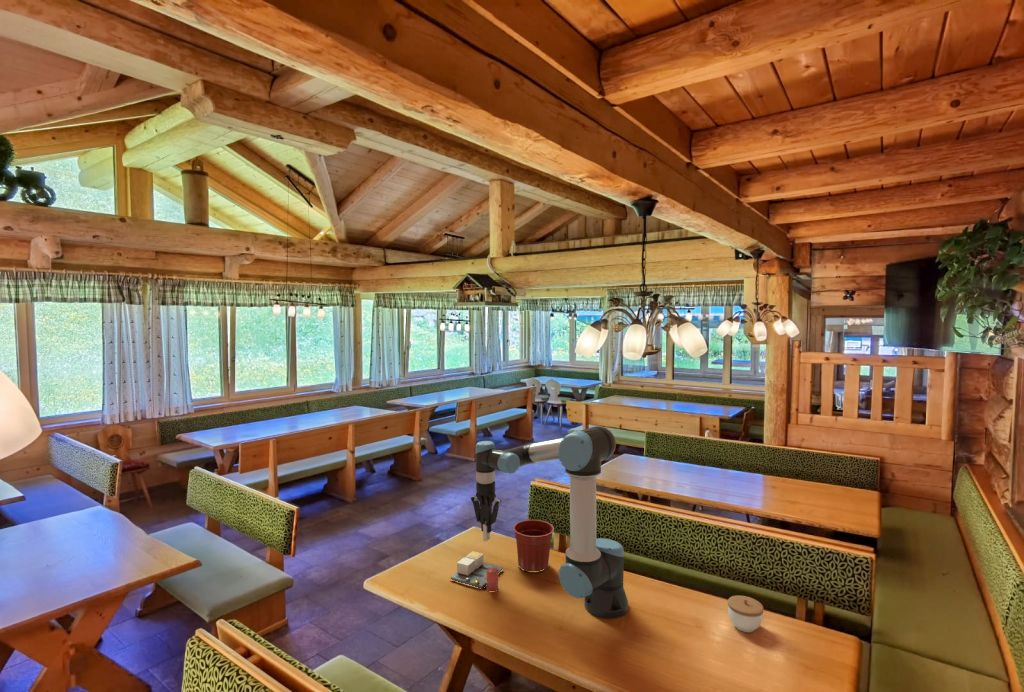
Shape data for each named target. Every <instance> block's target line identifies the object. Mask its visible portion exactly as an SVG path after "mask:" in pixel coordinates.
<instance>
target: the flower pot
mask: <svg viewBox="0 0 1024 692" xmlns="http://www.w3.org/2000/svg"><path fill="white" fill-rule="evenodd" d="M512 529H513V531H514V536H515V539H516V552H517V563H518V565H519V566H520V567H521V568H522V569H524V570H525V571H526V570H527V571H526V572H528V571H540V570H543V569H545V568H546V567H549V560H550V552H551V551H550V550H551V543H552V539H553V533H554V531H555V527H554V525H553V524H551V523H549V522H548V521H545V520H541V519H526V520H521V521H519V522H516V523H515V524H514V525H513V527H512ZM519 566H518V567H519ZM546 569H547V568H546ZM546 569H545V570H546Z"/></svg>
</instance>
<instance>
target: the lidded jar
mask: <svg viewBox="0 0 1024 692" xmlns="http://www.w3.org/2000/svg"><path fill="white" fill-rule="evenodd" d="M764 609H765V608H764V605H763V604H762V603H761V602H760V601H758V600H757V599H755V598H753V597H751V596H745V595H732V596H730V597H729V598H728V599H727V612H728V617H729V619H730V621H731V622H732V624H733V625H734V627H735V628H736V629H737V630H739V631H741V632H744V633H753V632H755V631H756V630H757V629H758V628H759V627H760V626H761V625H762V621H763V618H764V617H763V616H764Z"/></svg>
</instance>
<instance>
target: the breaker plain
mask: <svg viewBox="0 0 1024 692" xmlns="http://www.w3.org/2000/svg"><path fill="white" fill-rule="evenodd" d="M474 570H475V560H473V559H469V558H466V556H464V557H462V558H461V559H460V560H459V561H457V562H456V573H461V574H464V575H469V574H470V573H472V572H473V571H474Z"/></svg>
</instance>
